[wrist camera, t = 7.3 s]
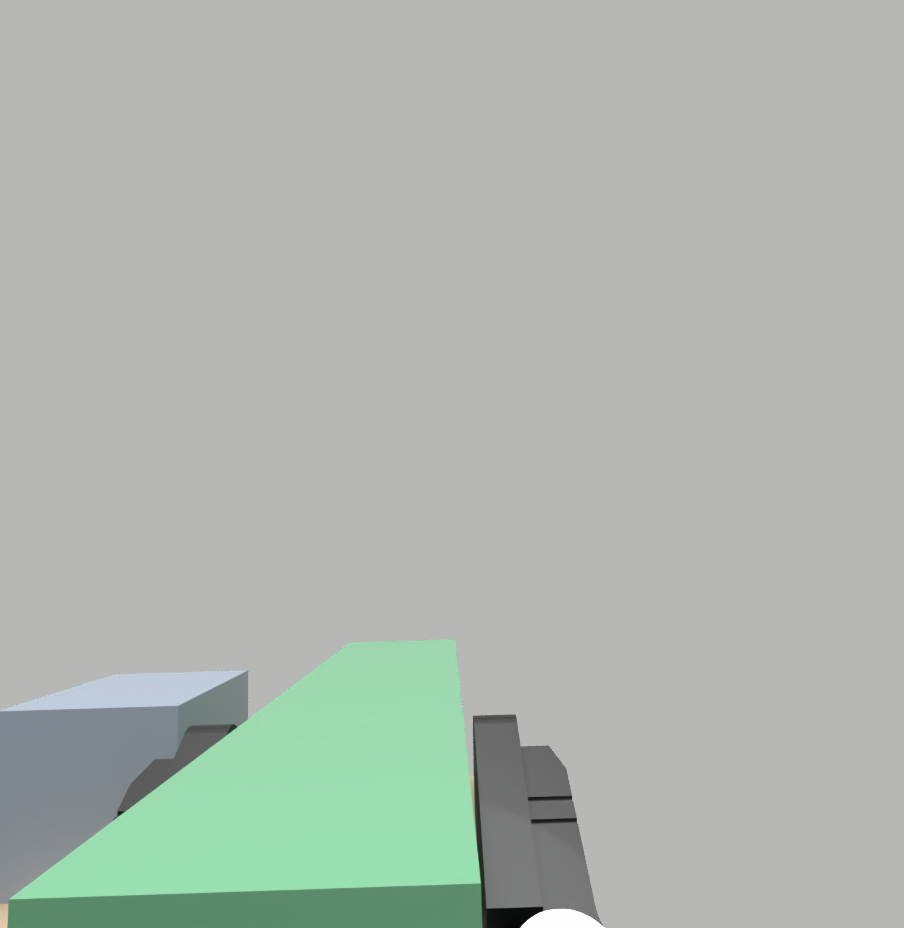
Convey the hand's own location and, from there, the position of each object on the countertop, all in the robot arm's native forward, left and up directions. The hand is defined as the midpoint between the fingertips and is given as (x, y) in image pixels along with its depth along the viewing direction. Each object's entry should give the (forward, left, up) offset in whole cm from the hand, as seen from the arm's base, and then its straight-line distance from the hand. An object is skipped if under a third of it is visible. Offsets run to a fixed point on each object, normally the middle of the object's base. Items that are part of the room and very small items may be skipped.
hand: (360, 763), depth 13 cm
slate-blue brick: (-6, +7, -4) cm, 10 cm away
